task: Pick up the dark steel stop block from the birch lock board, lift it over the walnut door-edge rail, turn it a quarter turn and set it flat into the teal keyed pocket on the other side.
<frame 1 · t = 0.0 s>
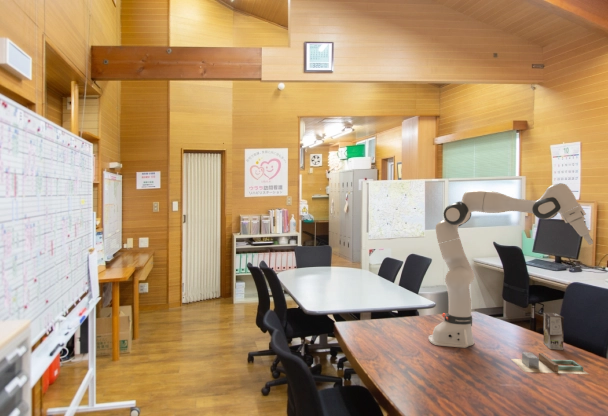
hand: (591, 243, 189), 54 cm above the table, tool tilted 30°, fingers open, 8 cm apart
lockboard: (548, 367, 187), on the table
stop: (530, 365, 187), point 1 cm above the table, touching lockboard
coffee box: (553, 347, 214), on the table
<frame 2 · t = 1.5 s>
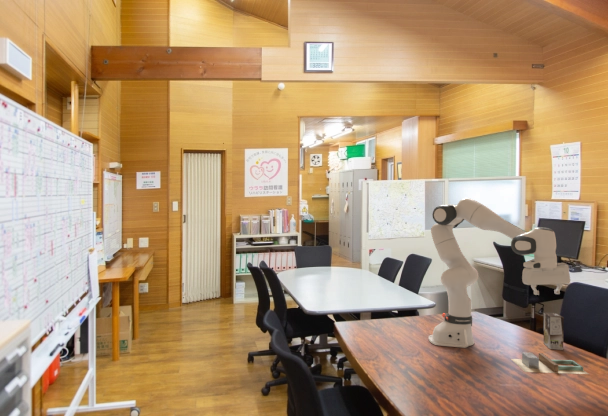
hand: (546, 294, 192), 31 cm above the table, tool pointing down, fingers open, 8 cm apart
nothing on the table moved.
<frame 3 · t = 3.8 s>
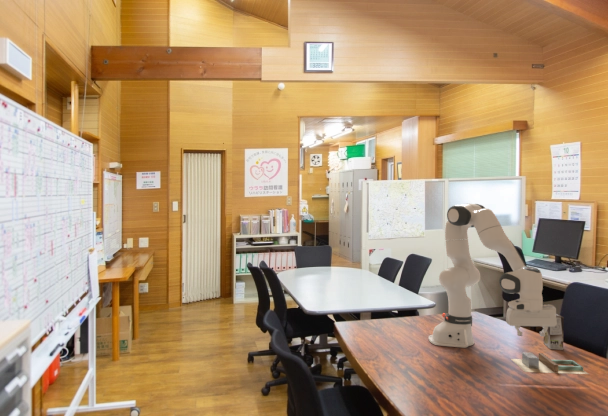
hand: (531, 335, 187), 14 cm above the table, tool pointing down, fingers open, 8 cm apart
nothing on the table moved.
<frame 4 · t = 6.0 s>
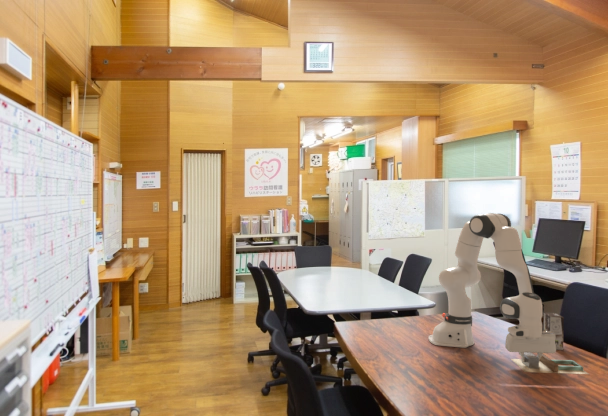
hand: (530, 362, 187), 2 cm above the table, tool pointing down, fingers closed on stop, 4 cm apart
stop: (530, 365, 187), point 1 cm above the table, touching gripper, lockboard
everything else where it was.
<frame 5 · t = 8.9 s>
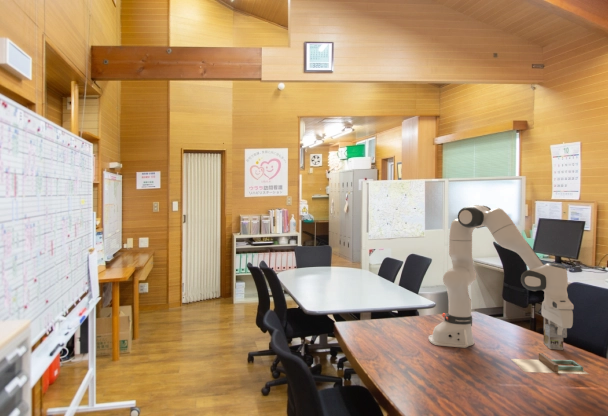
hand: (555, 332, 186), 16 cm above the table, tool pointing down, fingers closed on stop, 4 cm apart
stop: (556, 336, 186), point 14 cm above the table, touching gripper
everything else where it was.
when the fingers open (4 cm above the table, at t = 11.8 s): stop drops 2 cm, resting on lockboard.
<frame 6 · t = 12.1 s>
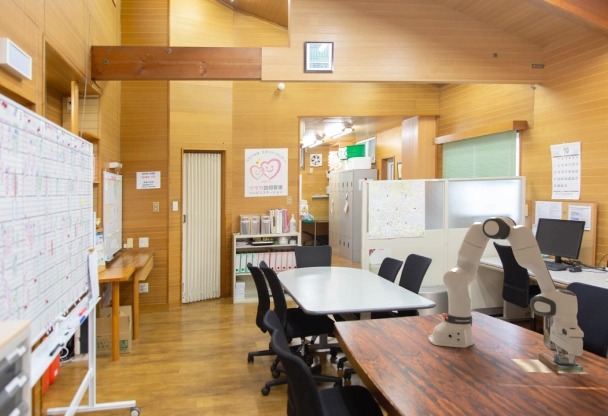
hand: (564, 358, 186), 4 cm above the table, tool pointing down, fingers open, 7 cm apart
stop: (564, 366, 186), point 1 cm above the table, touching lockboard
everything else where it was.
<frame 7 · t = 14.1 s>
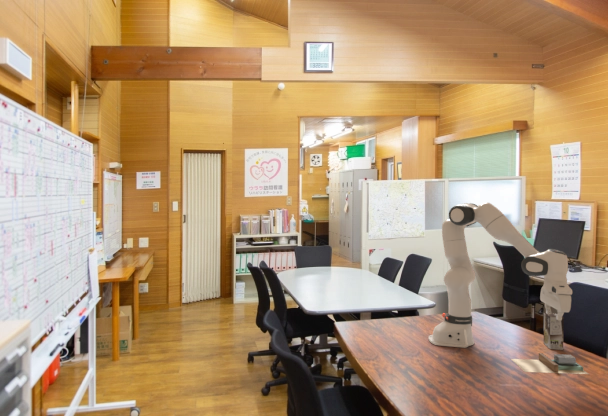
hand: (553, 316, 191), 21 cm above the table, tool pointing down, fingers open, 8 cm apart
nothing on the table moved.
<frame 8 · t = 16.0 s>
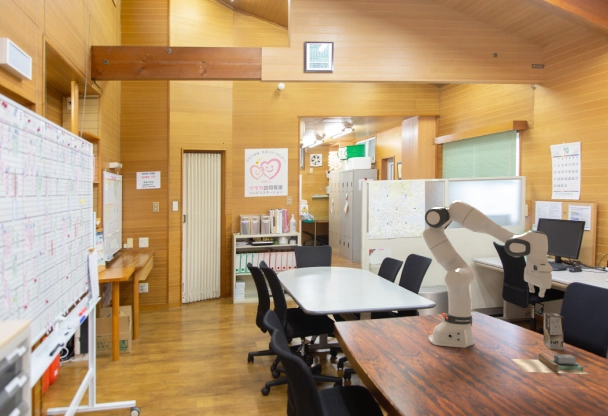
hand: (536, 294, 200), 29 cm above the table, tool pointing down, fingers open, 8 cm apart
nothing on the table moved.
at the end: stop 0.1 cm from the target spot on the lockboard, point 0.9 cm above the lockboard's base; stop tilted 0°; the gripper is holding nothing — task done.
